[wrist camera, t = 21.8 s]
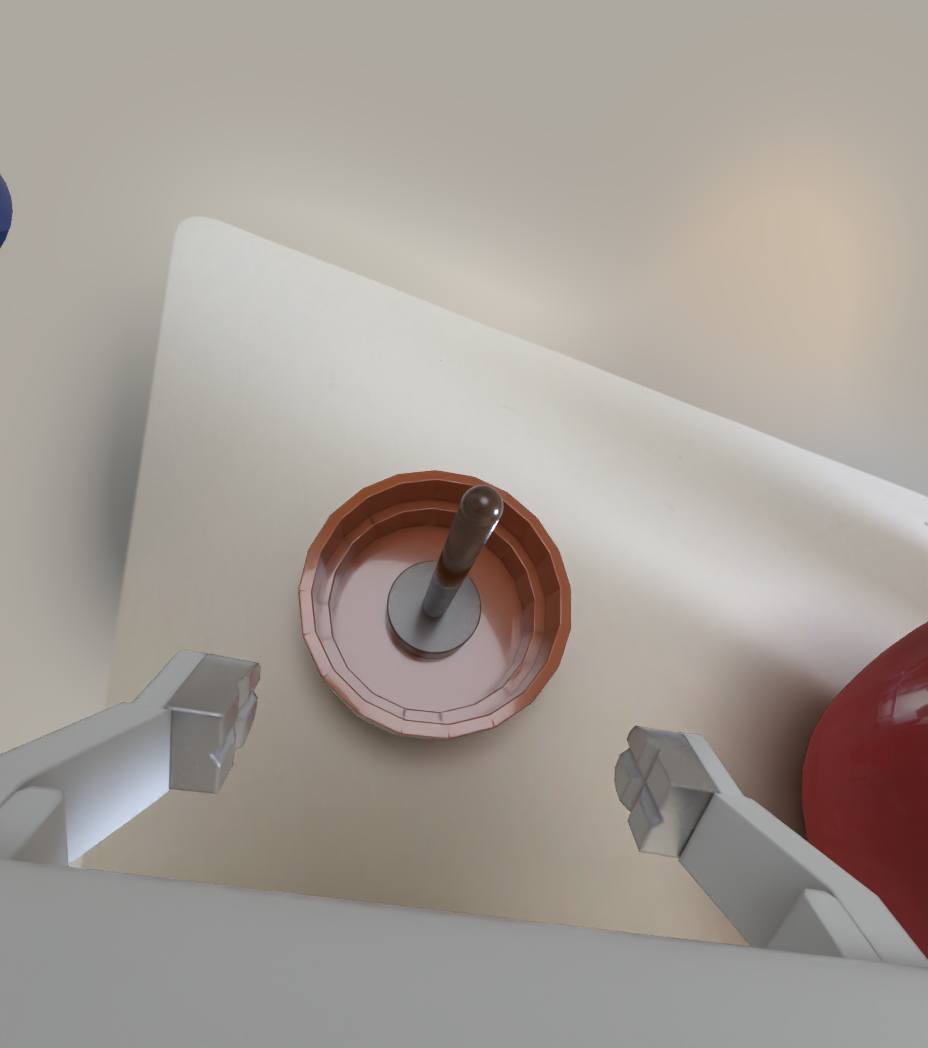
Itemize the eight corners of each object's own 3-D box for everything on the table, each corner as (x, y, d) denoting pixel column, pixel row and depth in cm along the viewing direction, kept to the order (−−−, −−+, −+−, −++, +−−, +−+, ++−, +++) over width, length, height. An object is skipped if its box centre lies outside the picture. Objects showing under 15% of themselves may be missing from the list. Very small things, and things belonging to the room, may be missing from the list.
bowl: (259, 618, 30) (236, 591, 25) (425, 474, 37) (434, 429, 32) (436, 797, 28) (452, 810, 23) (580, 611, 35) (618, 586, 29)
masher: (366, 613, 31) (363, 493, 16) (429, 553, 34) (477, 399, 19) (433, 678, 30) (497, 615, 15) (493, 611, 33) (598, 499, 18)
